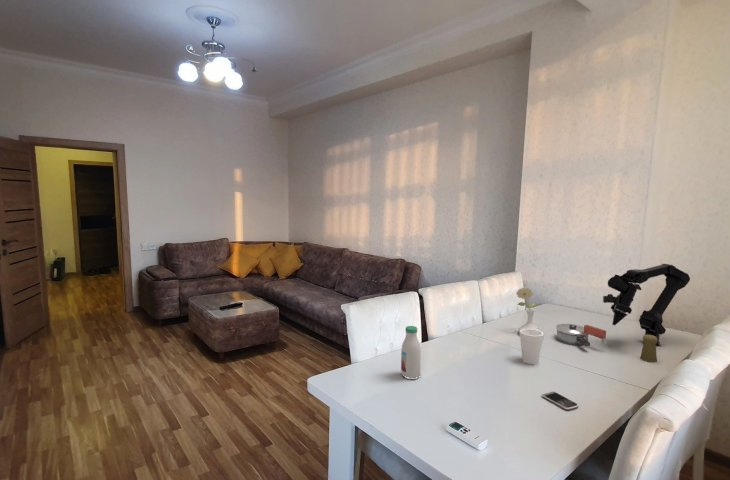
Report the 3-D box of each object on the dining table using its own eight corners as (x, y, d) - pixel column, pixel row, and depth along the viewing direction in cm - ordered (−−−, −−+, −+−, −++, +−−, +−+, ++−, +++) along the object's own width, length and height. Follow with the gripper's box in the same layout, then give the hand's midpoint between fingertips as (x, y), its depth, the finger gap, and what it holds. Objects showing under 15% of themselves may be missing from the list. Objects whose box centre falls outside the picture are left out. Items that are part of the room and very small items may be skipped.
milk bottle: (422, 373, 155) (422, 325, 153) (418, 381, 148) (419, 331, 146) (403, 370, 158) (404, 323, 156) (399, 378, 151) (399, 329, 149)
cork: (660, 362, 165) (662, 338, 164) (644, 361, 167) (646, 337, 165) (652, 357, 171) (654, 333, 170) (637, 356, 172) (639, 332, 171)
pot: (549, 333, 202) (550, 324, 201) (577, 334, 201) (577, 325, 200) (571, 351, 177) (571, 341, 177) (602, 352, 176) (603, 342, 176)
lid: (549, 328, 195) (550, 319, 194) (569, 324, 201) (569, 315, 200) (594, 343, 174) (594, 333, 173) (614, 338, 180) (614, 328, 180)
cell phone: (567, 413, 127) (567, 409, 127) (539, 397, 137) (540, 393, 137) (579, 409, 130) (580, 405, 129) (552, 394, 140) (552, 390, 139)
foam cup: (542, 359, 169) (543, 330, 168) (542, 367, 161) (543, 337, 159) (519, 355, 173) (520, 327, 172) (518, 363, 165) (519, 334, 163)
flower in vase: (542, 333, 201) (545, 287, 199) (539, 340, 192) (541, 291, 189) (516, 329, 208) (518, 284, 206) (512, 335, 199) (514, 288, 196)
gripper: (605, 289, 194) (593, 317, 195) (610, 287, 178) (597, 317, 178) (630, 298, 189) (617, 327, 190) (638, 297, 173) (624, 328, 173)
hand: (613, 324), depth 183 cm, fingers closed
